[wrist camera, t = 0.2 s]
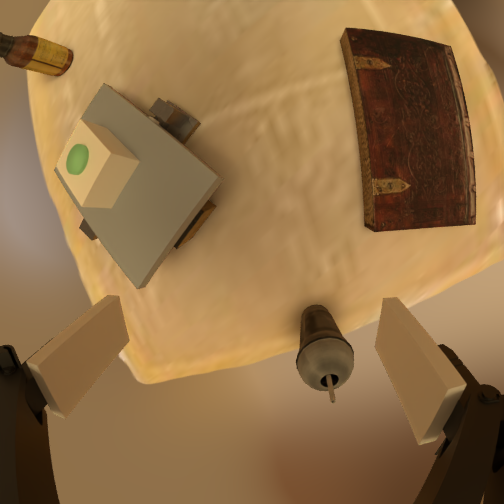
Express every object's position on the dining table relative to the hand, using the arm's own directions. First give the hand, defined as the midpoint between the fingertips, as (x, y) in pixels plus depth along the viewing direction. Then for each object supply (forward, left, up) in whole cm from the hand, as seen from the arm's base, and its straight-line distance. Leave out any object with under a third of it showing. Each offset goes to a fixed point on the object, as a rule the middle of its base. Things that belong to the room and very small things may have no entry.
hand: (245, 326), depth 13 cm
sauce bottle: (-26, -44, -28) cm, 58 cm away
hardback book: (-19, +19, -29) cm, 39 cm away
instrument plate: (-5, -20, -21) cm, 29 cm away
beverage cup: (+13, +10, -28) cm, 33 cm away
